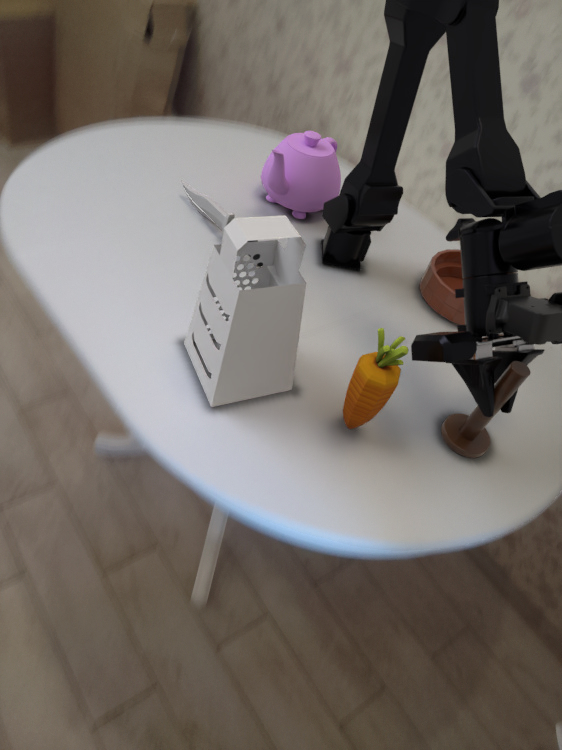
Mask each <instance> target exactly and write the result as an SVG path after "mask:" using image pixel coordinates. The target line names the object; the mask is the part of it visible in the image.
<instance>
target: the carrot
mask: <svg viewBox="0 0 562 750" xmlns="http://www.w3.org/2000/svg"><path fill="white" fill-rule="evenodd" d="M385 335H386V334H385V328H384V327H380V328H378V329H377V337H378V338H377V351H373V352H369V353H364V354H362V355H361V356H359V358H358V361H357V362H356V365H355V367H354V370H353V372H352V375H351V377H350V380H349V383H348V386H347V389H346V392H345V397H344V400H343V406H342V418H343V421H344V424H345V427H346V428H347V429H350V430H353V429H356V428H359V427H362V426H364V425H365V424H367V423H369V422H370V421H371V420H372V419H374V418H375V417H376V416H377V415H378V414H379V413H380V412H381V411H382V410H383V409H384V407H385V406H386V405H387V403H388V401H389V400H390V398H391V397H392V395H393V394H394V392H395V391H396V389H397V388H398V386H399V382H400V377H401V371H402V369H401V367H400V366H404V360H402V359H401V358H403V357H405V356H406V355H408V353H409V348H408V346H407V345H401V344H402V343H403V342H404V341H405V340H406V338H405V336H402V335H400V336H398V337H397V338H396V339H394V341H393V342H392V343H391V344H390V345H389V344H386V345H385V339H386V337H385ZM400 345H401V346H400Z"/></svg>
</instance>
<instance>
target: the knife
mask: <svg viewBox="0 0 562 750" xmlns="http://www.w3.org/2000/svg"><path fill="white" fill-rule="evenodd" d="M181 184H182V187H183V189H184V188H185V190H186V192H187V193H188V194H189V196H190V197H191V198H192V200H193V201H194V202H195V203H196V204H197V205H198V206H199V207H200V208H201V209H202V210H203V211H204V212H205V213H206V214H207V215H208V216H209V217H210V218H211V219H212V220H213V221H214V222H215V223H216V224H215V223H214V222H213V221H212V220H211V219H210V218H209V217H208V216H207V215H206V214H205V213H204V212H202V211H201V210H200V209H199V208H198V207H197V206H196V205H195V204H194V203H193V202H192V200H191V199H190V198H189V197H188V195H187V194H186V196H187V198H188V200H189V202H190V203H191V205H192V206H193V207H194V208H195V210H196V211H197V212H198V213H199V214H201V215H202V216H204V217H206V218H207V219H208V220H210V221H211V222H212V223H214V224H215V225H216V226H217V227H218V228H219V229H220V230H221V232H222V233H221V234H222V235H223V231H224V227H225V226H226V225H227V224H229V223H230V222H231V221H232V220H233V219H234V218H236V217H235V216H236V215H235V213H234V212H231V213H228V211H226V210H225V209H224V208H223V207H222V206H221V205H220V204H219V203H218V202H217V201H216V200H215V199H214V198H212V197H211V196H210V195H207V194H205V193H202V192H199V191H198V190H197V189H195V188H194V187H192V185H191V184H188V183H187V182H185V181H183V180H181ZM185 190H184V191H185ZM186 192H185V193H186ZM256 241H259V240H253V241H247V242H256ZM248 257H250V258H251V256H250V255H248ZM259 258H260V255H259V254H256V255H254V256H253V259H254V260H258V259H259ZM262 266H263V263H262V262H260V263H258V264H257V265H256V267H257V268H261V267H262Z"/></svg>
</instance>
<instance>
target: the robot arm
mask: <svg viewBox="0 0 562 750" xmlns="http://www.w3.org/2000/svg"><path fill="white" fill-rule="evenodd" d="M499 9H500V0H385V3H384V10H383V17H384V22H385V26H386V30H387V36H388V39H389V44H388V48H387V53H386V57H385V60H384V65H383V69H382V73H381V77H380V81H379V85H378V89H377V93H376V97H375V100H374V104H373V109H372V113H371V117H370V121H369V125H368V129H367V133H366V136H365V141H364V146H363V149H362V153H361V156H360V160H359V161H358V163H357V164H356V165H355V166H354V167H353V168H352V170H351V171H350V172H349V173H348V174H347V176H345V178H344V180H343V183H342V185H341V188H340V192H339V196H337V197H335V198H333V199H331V200H329V201H327V202H325V203H324V206H323V210H322V214H321V215H322V218H323V220H324V221H325V223H326V224H327V225H328V226H327V229H326V232H325V236H324V238H323V239H321V240H320V256H321V258H320V259H321V264H323V265H326V266H330V267H337V268H341V269H345V270H346V269H347V270H352V271H357V272H358V271H359V272H360V271H361V269H362V264H361V263H363V262H364V261H365V258H366V256H367V253H368V251H369V249H370V246H371V244H372V238H371V235H372V232H381V231H382V230H384V228H385V227H386V225H388V224H390V223H391V222H392V221H393V219H394V217H395V215H396V216H397V215H398V214H399V213H398V212H399V205H400V202H401V200H402V197H403V195H404V187H403V186H402V185H399V183H398V178H397V175H396V166H397V163H398V159H399V156H400V154H401V153H400V152H401V149H402V146H403V143H404V139H405V136H406V132H407V129H408V126H409V122H410V119H411V115H412V112H413V108H414V105H415V102H416V99H417V94H418V93H419V92H418V91H419V88H420V85H421V82H422V78H423V75H424V71H425V67H426V64H427V60H428V59H429V55H430V52H431V50H432V49H433V48H434V47H435V46H436V45H437V43H438V42H439V41H440V40H441V39H442V38H443V36H444V35H446V36H445V37H446V46H447V47H446V48H447V57H448V58H447V59H448V71H449V79H450V90H451V101H452V102H451V103H452V112H453V114H452V115H453V125H454V141H453V144H452V147H451V149H450V151H449V153H448V156H447V158H446V161H445V178H444V179H445V181H444V183H445V184H444V186H445V187H444V192H445V193H444V194H445V199H446V204H447V205H448V207H449V208H452V209H453V210H454V212H456V213H458V214H461V215H472V216H473V217H475V218H479V219H480V218H483V219H480V220H475V219H474V218H473V217H463V218H462V217H461V218H457V220H456V223H455V224H454V226H453V227H451V229H450V230H448V233H447V234H446V235H445V240H446V242H459V248H460V249H459V250H461V266H462V282H463V289H455V297H456V298H464V314H465V324H464V325H459V324H457V326H456V328H457V331H437V332H436V331H435V332H430V333H429V332H428V333H421V334H416V335H415V337H414V338H413V340H412V342H411V345H410V350H411V351H410V352H411V361H414V362H431V363H445V364H451V366H452V367H453V368H454V369H455V371H456V372H457V374H458V375H459V377H460V378H461V380H462V381H463V383H464V384H465V386H466V388H467V389H468V390H469V392H470V394H471V395H472V398H473V399H474V401H475V404H476V406H477V405H478V406H479V408H480V410H481V412H482V413H483V415H484V416H485V417H493V415H494V384H495V383H496V381H497V380H498V379H499V378H500V376H501V375H502V374H503V373H504V371H505V370H506V369H507V368H508V366H509V365H510V364H511V363H512V362H513V361H519V362H522V363H524V364H525V365H527V366H529V364H531V363H532V362H533V360H535V359H536V358H537V357H538V356H540V355H543V354H544V352H545V350H546V349H540V348H539V349H538V348H535V345H539V346H540V345H546V343H551V344H552V345H561V344H562V291H560V292H559V291H558V292H554V293H552V294H551V296H550V297H549V298H547V297H541V298H540V297H539V298H538V297H534V296H532V293H531V286H530V284H529V283H528V281H527V280H526V281H519V271H520V272H521V271H522V272H526V271H534V270H539V269H547V268H554V267H561V266H562V189H558V190H554V191H551V192H549V193H547V194H546V195H544V196H542V197H541V196H540V195H539V194H538V193H537V191H536V189H534V188H533V186H532V185H531V184H530V183H529V181H528V180H527V176H526V171H525V167H524V162H523V159H522V155H521V150H520V148H519V145H518V144H517V142H516V141H515V140H514V138H513V137H512V135H511V133H510V131H508V128H507V125H506V120H505V112H504V101H503V89H502V77H501V65H500V63H501V62H500V54H499V41H498V40H499V39H498V28H497V16H498V15H497V14H498V11H499ZM497 218H501V220H499V219H497ZM493 348H494V349H493ZM518 391H519V388H518V389H517V390H516V392H515V393H514V394H513V395H512V396H511V397H510V399H509V400H508V401H507V402H506V403H505V404H504V405H503V407H502V408H501V409H500V412H501V413H503V414H510V413H512V410H513V407H514V404H515V401H516V397H517V395H518ZM493 418H494V417H493Z"/></svg>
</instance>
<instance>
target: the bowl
mask: <svg viewBox="0 0 562 750" xmlns="http://www.w3.org/2000/svg"><path fill="white" fill-rule="evenodd" d="M455 289H463V282H462V266H461V250H460V249H456V248H454V249H450V248H449V249H448V248H447V249H444V250H439V251H437V252H436V253H435V254H434V255H433V256H432V257H431V259H430V260H429V263H428V264H427V267H426V268H425V270H424V272H423V274H422V277H421V278H420V282H419V290H420V293H421V296H422V298H423V299H424V301H425V302H426V304H427V305H428V306H429V307H430V308H431V309H433V311H435V312H436V313H437V314H438V315H440V316H441V317H443V318H444V319H447V320H448V321H450V322H452V323H454V324H457V325H464V324H465V314H464V298H456V297H455Z"/></svg>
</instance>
